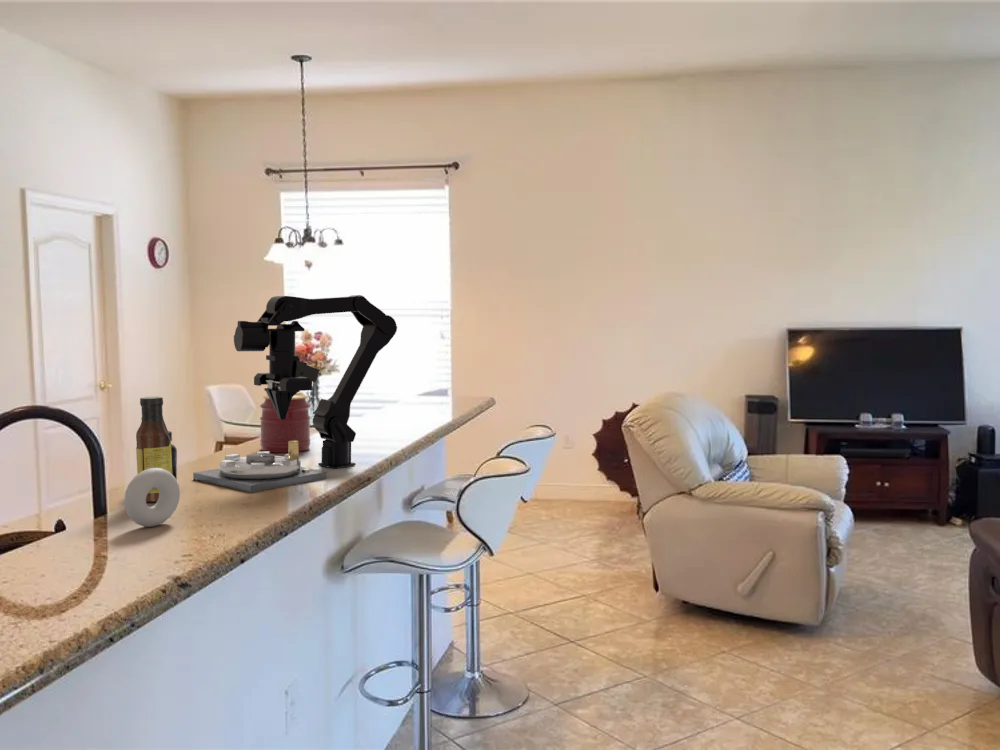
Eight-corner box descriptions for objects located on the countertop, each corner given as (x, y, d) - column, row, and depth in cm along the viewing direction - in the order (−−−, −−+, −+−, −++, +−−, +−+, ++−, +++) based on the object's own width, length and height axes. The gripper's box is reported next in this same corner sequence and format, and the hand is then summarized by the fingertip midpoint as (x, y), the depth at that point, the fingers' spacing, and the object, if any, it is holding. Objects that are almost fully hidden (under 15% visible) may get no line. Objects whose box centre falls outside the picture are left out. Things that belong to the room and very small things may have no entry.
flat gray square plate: (269, 467, 198) (269, 458, 198) (326, 478, 186) (326, 469, 186) (193, 479, 182) (193, 469, 182) (250, 492, 170) (250, 482, 170)
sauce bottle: (180, 498, 164) (179, 396, 163) (157, 504, 158) (156, 399, 157) (152, 495, 166) (151, 395, 165) (129, 501, 160) (128, 397, 159)
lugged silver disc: (316, 470, 186) (317, 441, 186) (255, 482, 172) (255, 450, 172) (265, 461, 196) (265, 433, 195) (202, 472, 182) (202, 442, 181)
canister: (288, 444, 233) (288, 380, 232) (320, 449, 225) (320, 383, 224) (249, 449, 223) (249, 383, 221) (282, 455, 215) (282, 386, 214)
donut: (132, 534, 137) (131, 473, 137) (119, 530, 139) (119, 471, 139) (184, 521, 146) (184, 464, 145) (171, 519, 148) (171, 462, 147)
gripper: (333, 352, 189) (333, 421, 191) (297, 349, 204) (297, 413, 205) (287, 353, 182) (287, 424, 184) (253, 349, 197) (253, 415, 198)
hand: (282, 419), depth 193 cm, fingers closed
